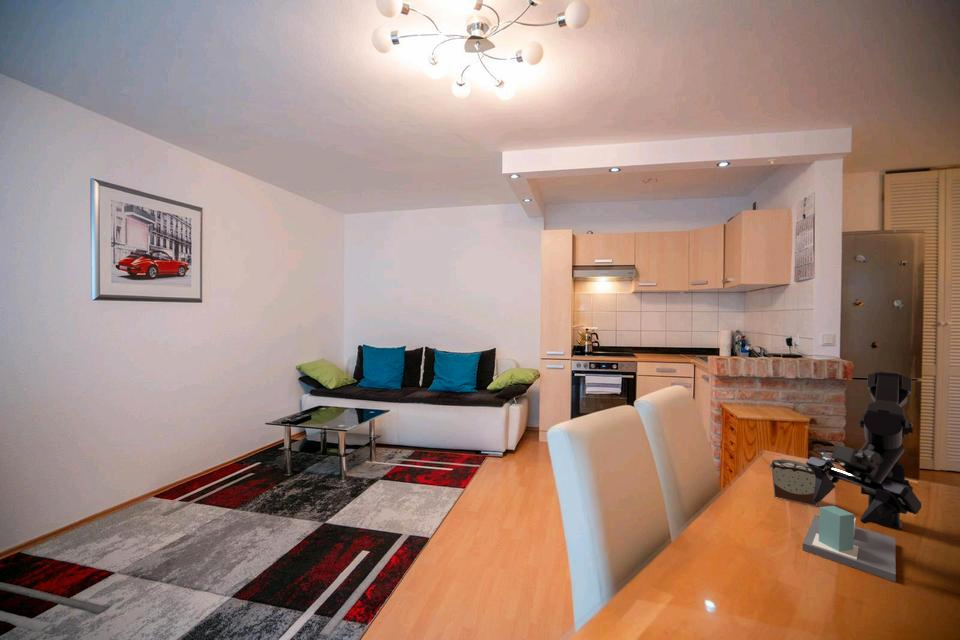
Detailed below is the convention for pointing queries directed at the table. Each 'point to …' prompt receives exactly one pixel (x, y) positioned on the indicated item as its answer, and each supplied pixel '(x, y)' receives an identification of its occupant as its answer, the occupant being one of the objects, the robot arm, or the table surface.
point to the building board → (858, 551)
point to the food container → (793, 481)
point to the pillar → (836, 528)
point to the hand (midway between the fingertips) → (837, 511)
